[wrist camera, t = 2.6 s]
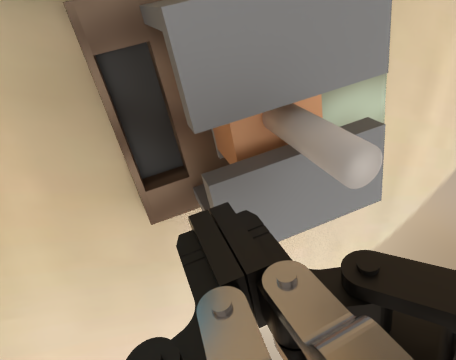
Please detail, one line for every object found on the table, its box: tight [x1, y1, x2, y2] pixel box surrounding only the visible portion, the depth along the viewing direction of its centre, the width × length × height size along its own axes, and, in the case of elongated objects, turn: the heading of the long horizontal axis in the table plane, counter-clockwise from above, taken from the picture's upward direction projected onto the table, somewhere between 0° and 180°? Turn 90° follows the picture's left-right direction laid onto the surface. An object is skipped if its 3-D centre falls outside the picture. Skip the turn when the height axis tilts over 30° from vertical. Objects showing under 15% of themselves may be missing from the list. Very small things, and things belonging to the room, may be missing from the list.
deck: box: [63, 0, 387, 225], centre depth 26 cm, size 16×22×2 cm
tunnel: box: [140, 0, 392, 242], centre depth 21 cm, size 14×11×8 cm
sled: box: [212, 94, 383, 189], centre depth 19 cm, size 8×6×13 cm
